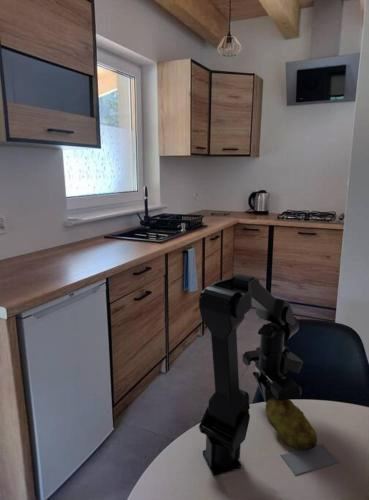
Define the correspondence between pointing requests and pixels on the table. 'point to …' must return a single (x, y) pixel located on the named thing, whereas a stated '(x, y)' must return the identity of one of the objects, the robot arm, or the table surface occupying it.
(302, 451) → the mat
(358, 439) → the table surface
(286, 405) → the potato
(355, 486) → the table surface
